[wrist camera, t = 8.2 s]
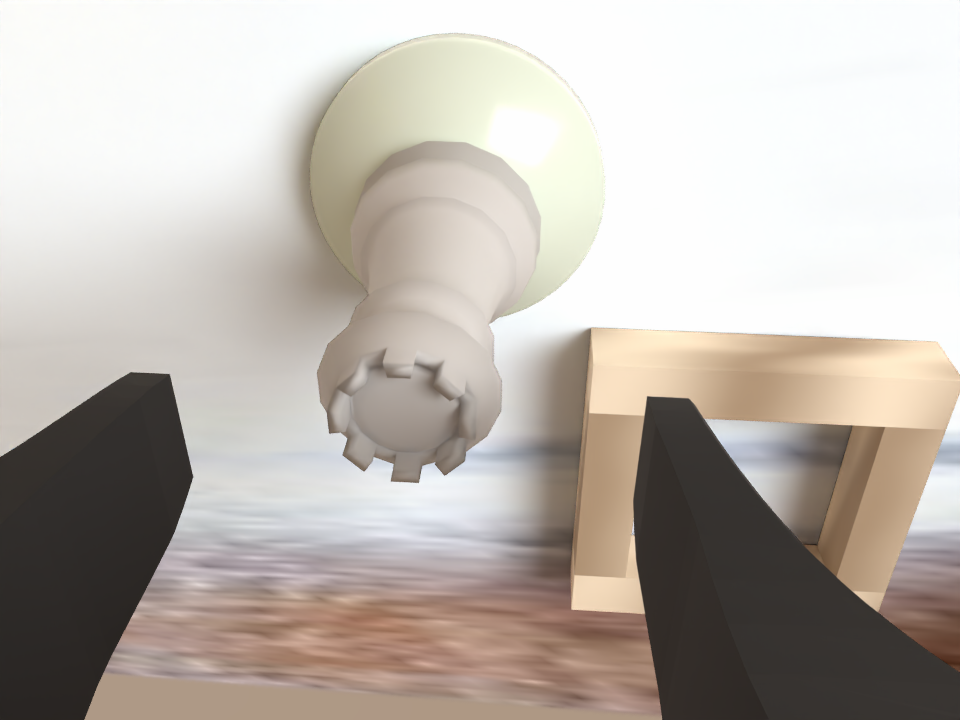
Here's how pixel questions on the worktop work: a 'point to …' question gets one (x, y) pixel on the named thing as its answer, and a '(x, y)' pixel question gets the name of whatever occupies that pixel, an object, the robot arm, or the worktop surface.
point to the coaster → (466, 139)
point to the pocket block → (774, 398)
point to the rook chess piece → (429, 306)
